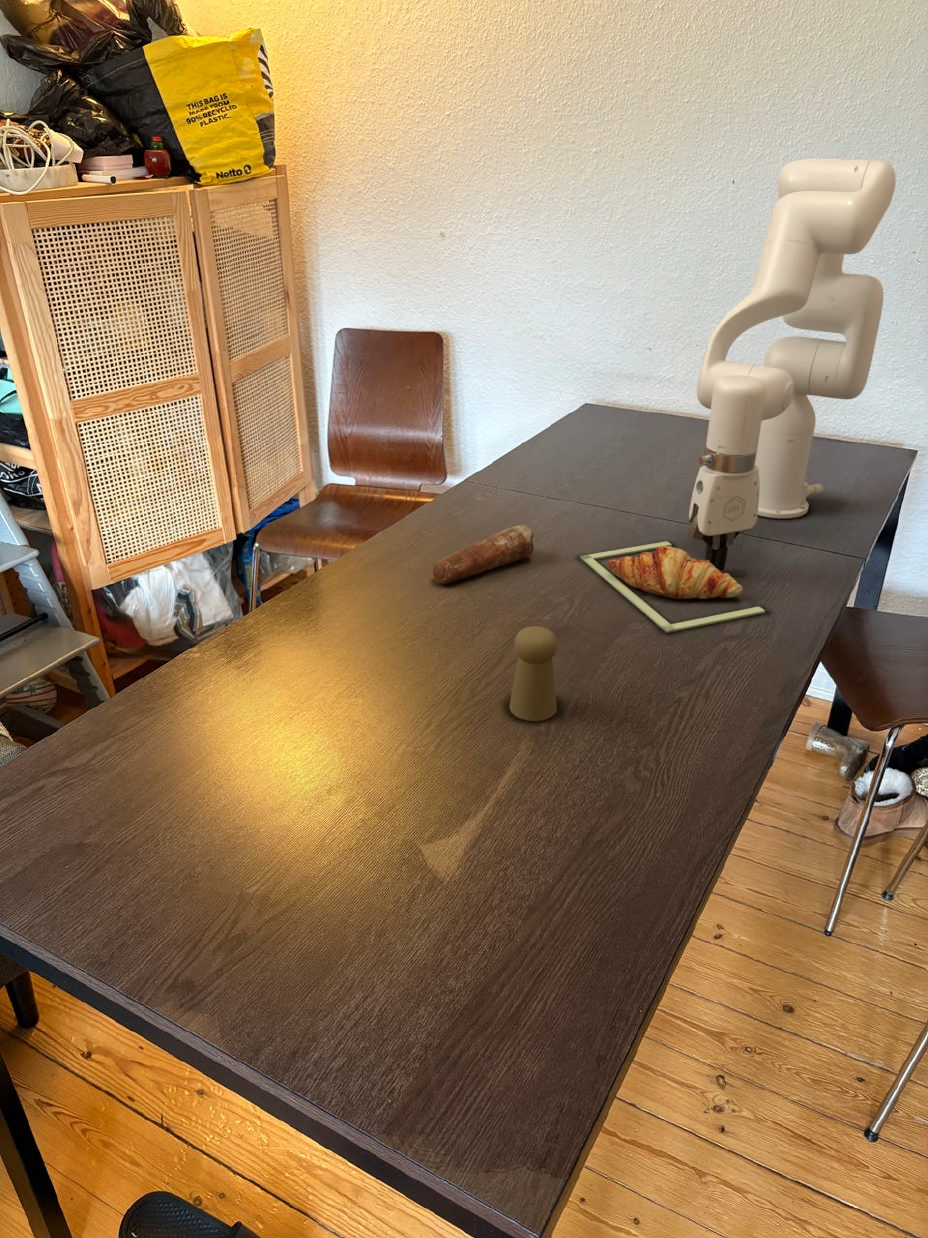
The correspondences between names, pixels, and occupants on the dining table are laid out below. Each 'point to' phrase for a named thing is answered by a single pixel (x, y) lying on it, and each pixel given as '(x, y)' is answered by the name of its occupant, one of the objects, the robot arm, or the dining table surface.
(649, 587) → the croissant
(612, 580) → the frame
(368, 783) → the dining table surface
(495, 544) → the bread
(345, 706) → the dining table surface
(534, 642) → the tan game pawn
